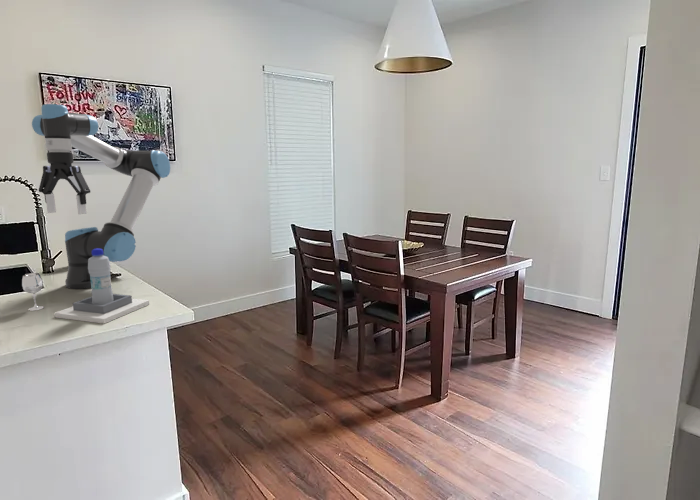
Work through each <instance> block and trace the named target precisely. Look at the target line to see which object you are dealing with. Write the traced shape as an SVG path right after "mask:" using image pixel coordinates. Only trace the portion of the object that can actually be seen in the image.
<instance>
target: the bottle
mask: <svg viewBox="0 0 700 500" xmlns="http://www.w3.org/2000/svg"><path fill="white" fill-rule="evenodd" d="M110 262H111V261H109V258H108V257H106V256H104V255H103V250H102V249H100V248H96V249H93V250H92V257H91V258H89V259H88V270H89V274H90V280H91V297H92V303H93V304H98V305H105V304H107V303H110V302H112V301H113V294H114V293H113V288H112V281H111V279H112V277H111V264H110Z"/></svg>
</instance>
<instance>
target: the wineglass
mask: <svg viewBox="0 0 700 500" xmlns="http://www.w3.org/2000/svg"><path fill="white" fill-rule="evenodd" d="M21 287H22V289H23V291H24V292H26V293H29V294H32V298H33V302H34V305H33V306H32V307H30V308H28V309H27V310H28V311H29V310H30V311H31V312H32V311H40V310H43V309H44V308H45V307H44V306H42V305H41V306H40V305H37V301H36V299H37V295H36V293H39V292H40V291H42V290H43V287H44V283H43V278H42V276H41V274H40V273H38V272H32V273H25V274H23V275H22V279H21ZM30 311H29V312H30Z"/></svg>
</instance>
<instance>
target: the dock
mask: <svg viewBox="0 0 700 500" xmlns="http://www.w3.org/2000/svg"><path fill="white" fill-rule="evenodd" d="M149 305H150V300H148V299H140V298H133V297H132V295H128V294H120V293H118V294H117V293H113V301H112V302H110V303H107V304H105V305H98V304H93V303H92V296H90V297H89V296H88V297H86V298H83V299H81V300H77V301H75V302H72V306H70V307H67V308H65V309H62V310H58V311H56V312H54V315H53V316H54V318H58V319H64V320H65V319H66V320H74V321H82V322H91V323H97V324H98V323H99V324H107V323H109V322H111V321H113V320H116V319H119V318H121V317H123V316H125V315H128V314H130V313H132V312H135V311H137V310H140V309H142V308H144V307H146V306H149Z"/></svg>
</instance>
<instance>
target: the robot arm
mask: <svg viewBox="0 0 700 500" xmlns="http://www.w3.org/2000/svg"><path fill="white" fill-rule="evenodd" d="M31 127H32V130H33V131H34V133H36V134H37V135H38V136H43V137H44V143H45V149H46V151H47V152H46V158H47V163H48V164H50V165H43V166H42V176H41V179H40V183H39V188H38V193H41V194H43V195H44V202H45V204H46V212H47V214H53V213H57V209H56V201H55V200H56V199H55V194H54V190H55V187H56V185H57V183H58V182H59V180H65V181H67V182H68V183H69V184H70V186H71V187H72V189H74V191H75V192H76V193H77V194H76V195H75V197H76V198H75V199H76V207H77V214H78V215H85V214H87V206H86V205H87V194H90V193H91V189H90V187H89V185H88V183H87V181H86V179H85V177H84V175H83V174H82V173H83V172H82V170H81V166H80V165H72V164H74V155H73V153H72V151H73V148H74V149H76V150H78V151H79V152H82V153H83V154H86V155H88V156H90V157H92V158H95V159H96V160H98V161H101V162H103V163H104V165H105V166H106V167H107V168H110V169H111V170H114V171H116V172H118V173H120V174H123V175H126V176H128V177H132V178H131V180H130V182H129V184H128V186H127V188H126V190H125V192H124V194H123V196H122V198H121V200H120V202H119V204H118V206H117V208H116V210H115V212H114V214H113V215H112V218H111V220H110V221H108V222H105V223H104V225H103V227H102V229H101V230H100V231H99V229H98V227H96V226H91V227H83V228H78V229H77V228H76V229H71V230H67V231H66V232H65V234H64V235H65V236H64V238H65V239H64V242H65V250H66V251H65V252H66V257H67V263H68V268H67V273H66V274H67V275H66V279H65V283H64V284H65V287H66V288H67V289H70V290H71V289H74V290H77V289H80V290H81V289H90V288H91V280H90V274H89V270H88V259H89V258H91V257H92V250H93V249H96V248H100V249H102V250H103V255H104V256H106V257H108V258H109V262H113V263H117V262H125V261H127V260H129V259H130V258H131V257H132V255H134V252H135V250H136V247H137V246H136V243H137V242H136V238H135V237H134V236H135V233H134V231H133V229H134V227H135V226H136V224H137V221H138V219H139V217H140V214H141V213H142V210H143V208H144V207H145V206H144V205H145V204H146V202H147V200H148V197H149V196H150V193H151V191H152V189H153V187H156V186H157V185H159V182H160V181H161V179H164V178H167V177H168V176H169V175H170V173H171V163H170V159H169V157H168V155H166V153H165V152H164V151H162V150H154V149H152V150H129V149H128V150H127V149H123V148H120V147H118V146H111V145H110V144H108V143H107V142H104V141H102V139H99V138H97V137H96V136H95V135H96V134H97V133H98V131H99V122H98V120H97V118H96V117H95V116H93V115H91V114H86V113H74V112H69V110H68V107H67V105H64V104H59V103H58V104H57V103H56V104H54V103H46V104H45V103H44V104H43V105H41V114H38V115H35V116H34V117H33V119H32V122H31ZM91 289H92V288H91Z"/></svg>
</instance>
